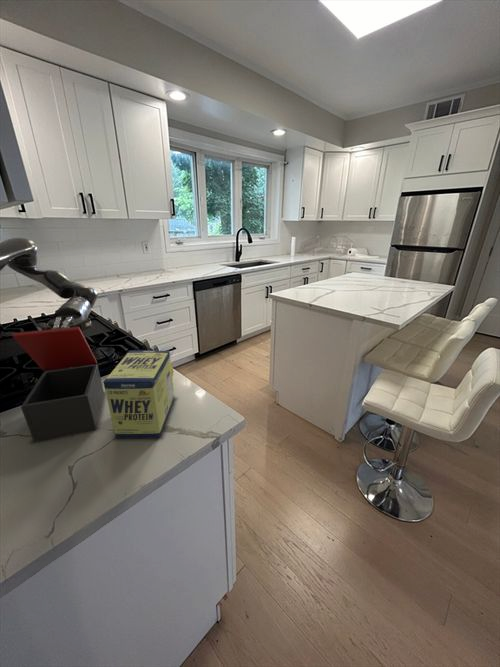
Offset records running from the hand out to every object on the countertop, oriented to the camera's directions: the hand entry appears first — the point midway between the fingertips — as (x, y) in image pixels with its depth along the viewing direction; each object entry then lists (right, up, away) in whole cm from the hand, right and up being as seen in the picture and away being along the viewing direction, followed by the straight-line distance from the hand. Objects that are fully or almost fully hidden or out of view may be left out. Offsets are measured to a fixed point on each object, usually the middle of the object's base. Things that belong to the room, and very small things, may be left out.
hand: (55, 337), depth 66 cm
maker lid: (0, -3, +1) cm, 4 cm away
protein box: (+20, -21, +5) cm, 29 cm away
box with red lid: (+1, -20, +5) cm, 21 cm away
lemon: (+20, -14, +20) cm, 32 cm away
